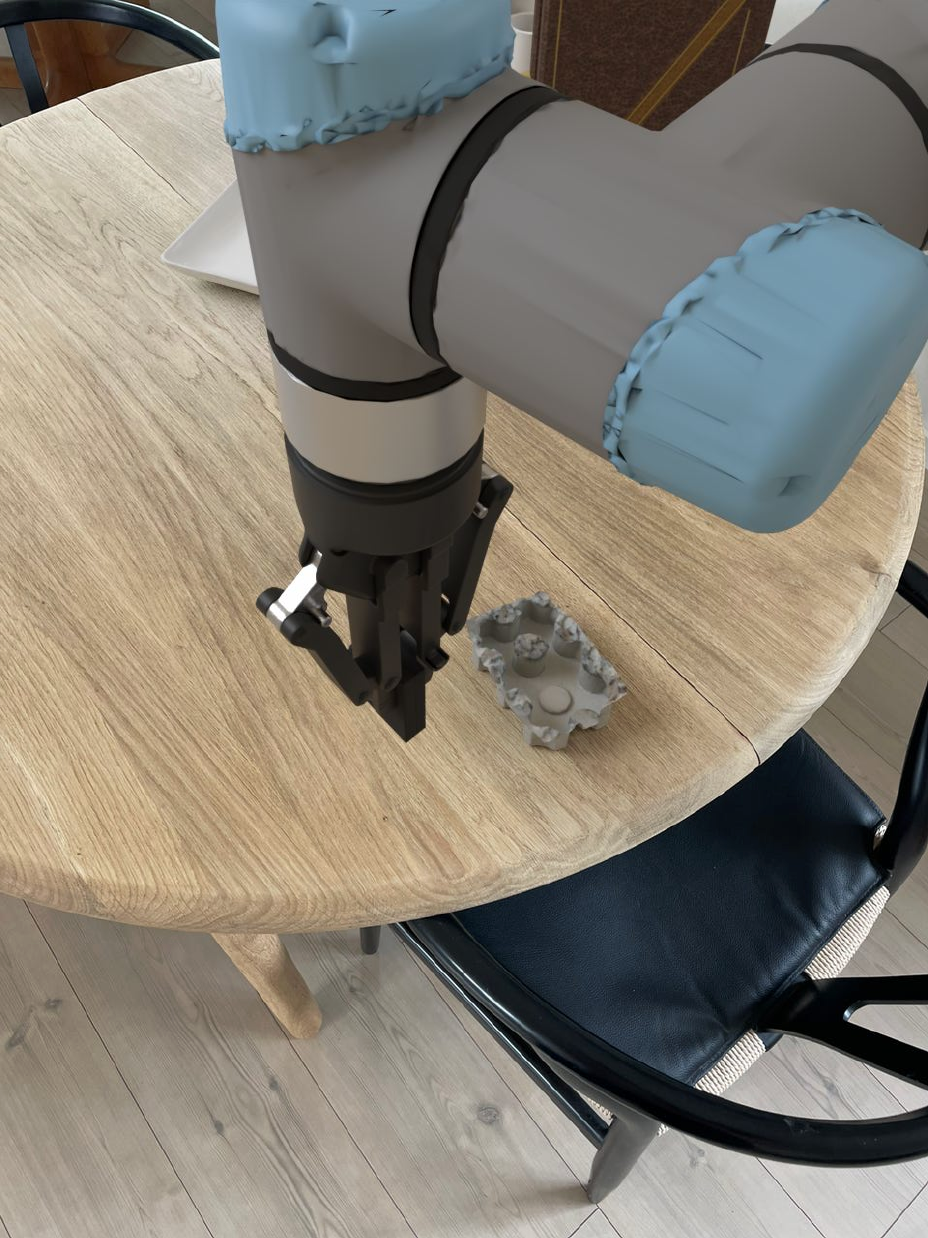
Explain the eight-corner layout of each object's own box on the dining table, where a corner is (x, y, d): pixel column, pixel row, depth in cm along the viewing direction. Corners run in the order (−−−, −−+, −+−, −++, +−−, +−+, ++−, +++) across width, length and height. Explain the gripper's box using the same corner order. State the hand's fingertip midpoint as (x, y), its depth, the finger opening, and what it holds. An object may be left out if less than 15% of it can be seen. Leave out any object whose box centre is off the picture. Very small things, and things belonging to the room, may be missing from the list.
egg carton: (626, 723, 66) (636, 693, 63) (529, 767, 64) (534, 739, 61) (548, 607, 72) (554, 573, 68) (457, 644, 70) (458, 612, 66)
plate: (456, 219, 99) (457, 188, 96) (369, 349, 87) (367, 317, 84) (269, 172, 103) (265, 141, 100) (163, 290, 91) (154, 258, 88)
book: (702, 205, 101) (770, -73, 80) (720, 255, 96) (797, -26, 75) (490, 210, 100) (504, -71, 79) (498, 261, 95) (514, -24, 74)
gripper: (447, 295, 40) (442, 616, 60) (177, 445, 35) (268, 743, 55) (578, 391, 37) (527, 696, 57) (304, 571, 32) (352, 838, 52)
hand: (400, 719), depth 56 cm, fingers closed
